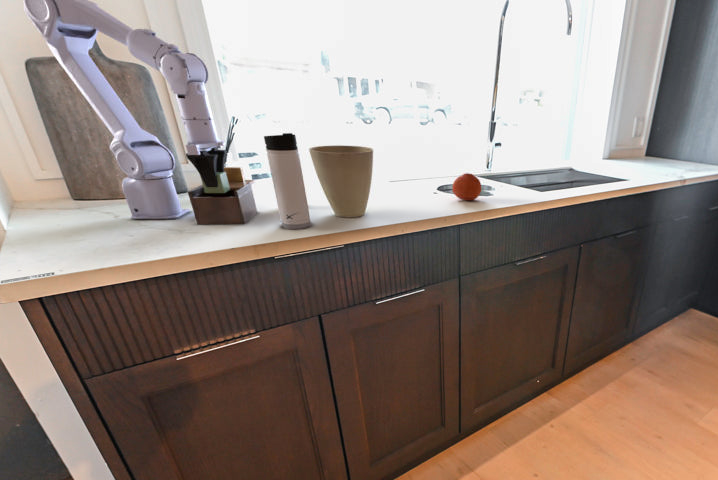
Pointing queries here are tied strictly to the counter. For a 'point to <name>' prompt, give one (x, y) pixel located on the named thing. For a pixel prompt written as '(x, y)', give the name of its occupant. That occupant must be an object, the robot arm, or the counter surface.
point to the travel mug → (288, 180)
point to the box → (223, 205)
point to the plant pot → (344, 177)
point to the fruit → (467, 187)
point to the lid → (236, 177)
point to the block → (222, 184)
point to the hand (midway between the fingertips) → (215, 185)
